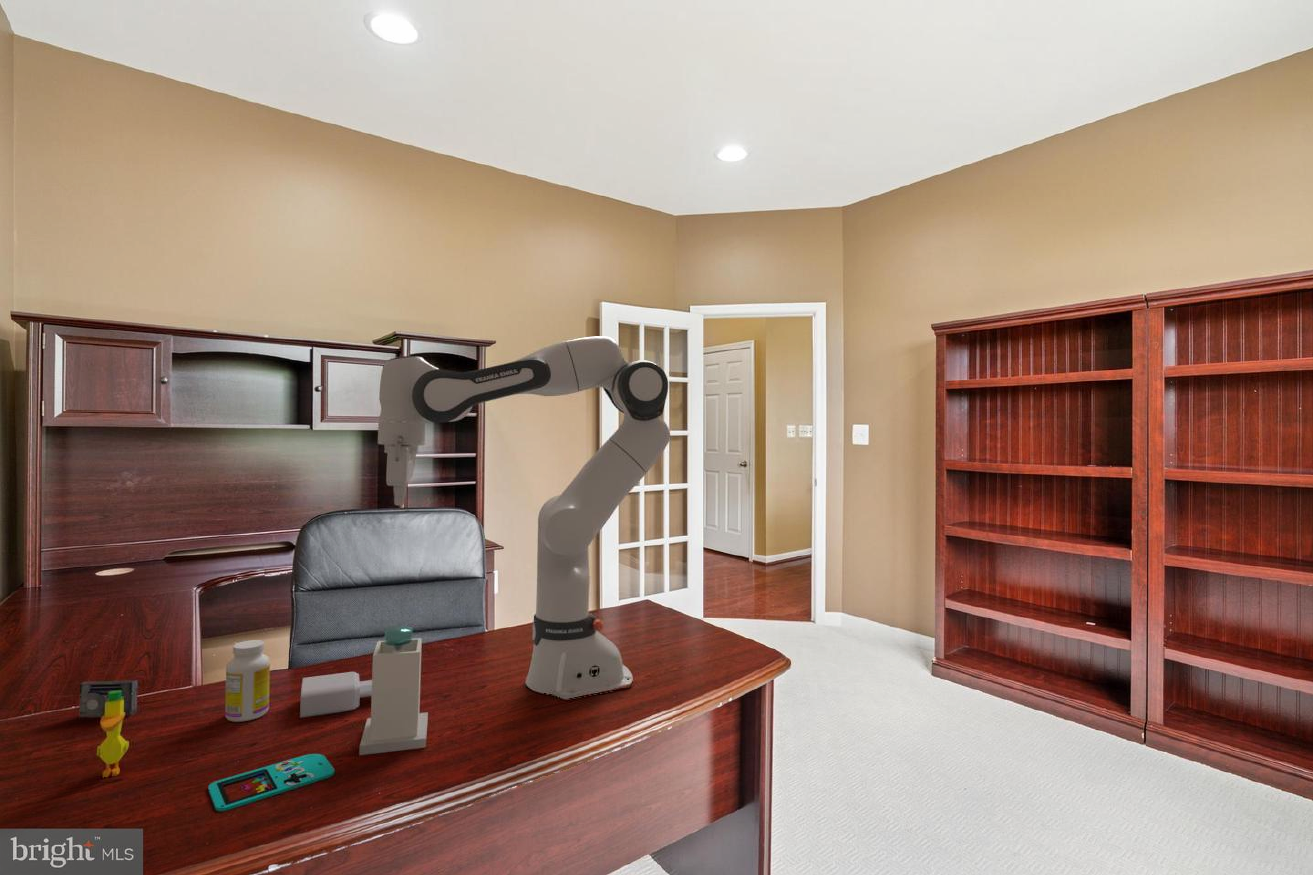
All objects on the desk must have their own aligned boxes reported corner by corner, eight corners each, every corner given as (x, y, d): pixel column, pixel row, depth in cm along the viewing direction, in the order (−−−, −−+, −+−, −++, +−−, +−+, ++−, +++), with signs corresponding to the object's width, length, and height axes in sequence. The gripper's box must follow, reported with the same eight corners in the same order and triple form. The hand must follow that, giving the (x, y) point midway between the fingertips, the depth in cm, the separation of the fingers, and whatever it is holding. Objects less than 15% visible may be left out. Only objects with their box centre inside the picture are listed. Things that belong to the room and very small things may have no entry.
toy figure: (122, 782, 91) (124, 699, 91) (89, 788, 89) (92, 704, 89) (130, 760, 97) (133, 683, 97) (100, 766, 95) (102, 687, 95)
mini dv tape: (136, 712, 113) (137, 679, 113) (131, 716, 112) (132, 682, 112) (85, 714, 112) (86, 680, 112) (78, 717, 110) (79, 683, 110)
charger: (390, 706, 119) (299, 720, 112) (386, 688, 127) (302, 700, 121) (391, 681, 119) (300, 694, 112) (387, 665, 127) (302, 675, 121)
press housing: (427, 720, 114) (430, 635, 114) (425, 747, 104) (428, 654, 104) (367, 726, 111) (369, 638, 110) (359, 755, 101) (362, 659, 101)
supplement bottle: (269, 704, 118) (271, 636, 118) (267, 718, 112) (270, 647, 112) (226, 710, 115) (228, 640, 115) (222, 726, 109) (224, 652, 109)
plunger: (412, 692, 110) (414, 624, 110) (410, 704, 106) (413, 633, 106) (382, 695, 109) (385, 626, 109) (379, 707, 104) (382, 634, 104)
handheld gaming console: (336, 770, 95) (217, 808, 85) (336, 776, 95) (217, 816, 85) (320, 748, 101) (207, 782, 91) (320, 755, 101) (206, 789, 91)
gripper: (415, 437, 118) (413, 511, 118) (420, 436, 138) (418, 499, 138) (379, 436, 116) (376, 511, 116) (389, 435, 136) (387, 499, 136)
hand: (399, 504), depth 127 cm, fingers closed
